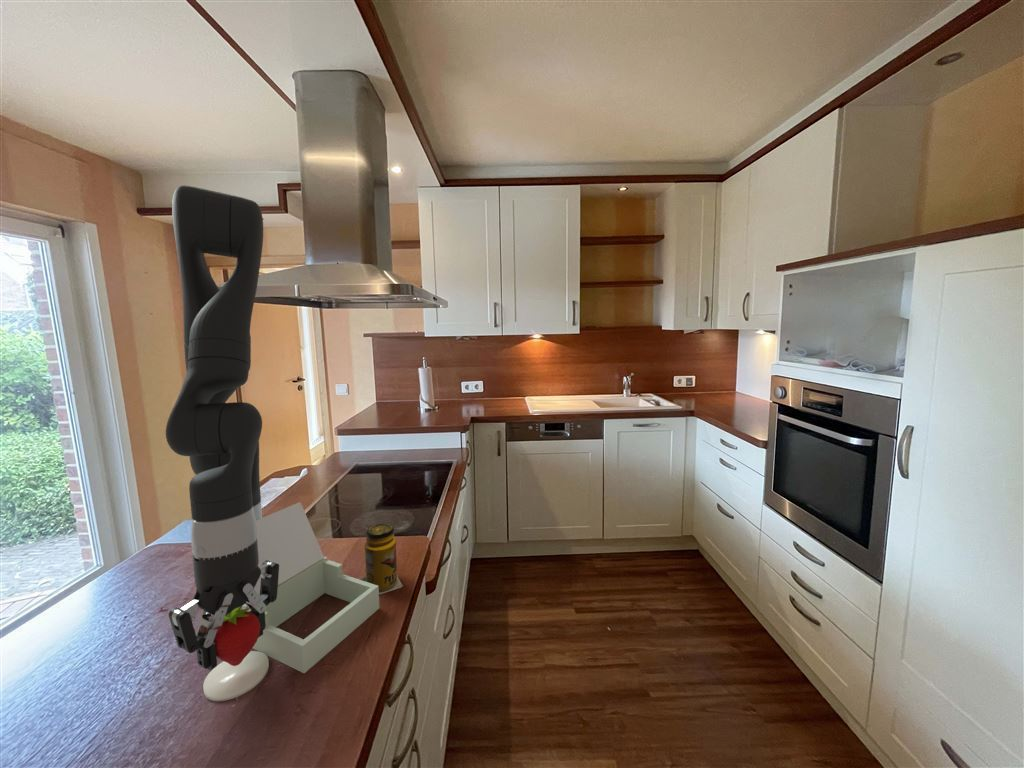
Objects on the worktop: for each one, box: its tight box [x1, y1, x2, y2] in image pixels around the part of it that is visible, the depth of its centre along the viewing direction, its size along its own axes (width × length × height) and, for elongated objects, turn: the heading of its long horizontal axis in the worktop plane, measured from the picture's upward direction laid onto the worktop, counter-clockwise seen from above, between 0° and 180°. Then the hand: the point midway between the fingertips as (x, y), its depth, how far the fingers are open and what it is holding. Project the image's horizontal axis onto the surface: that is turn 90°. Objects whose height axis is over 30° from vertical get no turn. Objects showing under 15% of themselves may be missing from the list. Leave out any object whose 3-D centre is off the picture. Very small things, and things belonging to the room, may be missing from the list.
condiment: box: [358, 523, 404, 595], centre depth 81 cm, size 7×8×12 cm
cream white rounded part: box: [202, 650, 270, 702], centre depth 59 cm, size 8×8×1 cm
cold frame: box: [241, 501, 380, 674], centre depth 70 cm, size 20×16×18 cm
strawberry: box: [213, 605, 261, 666], centre depth 58 cm, size 6×8×10 cm
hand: (234, 649), depth 58 cm, fingers closed on strawberry, 6 cm apart
